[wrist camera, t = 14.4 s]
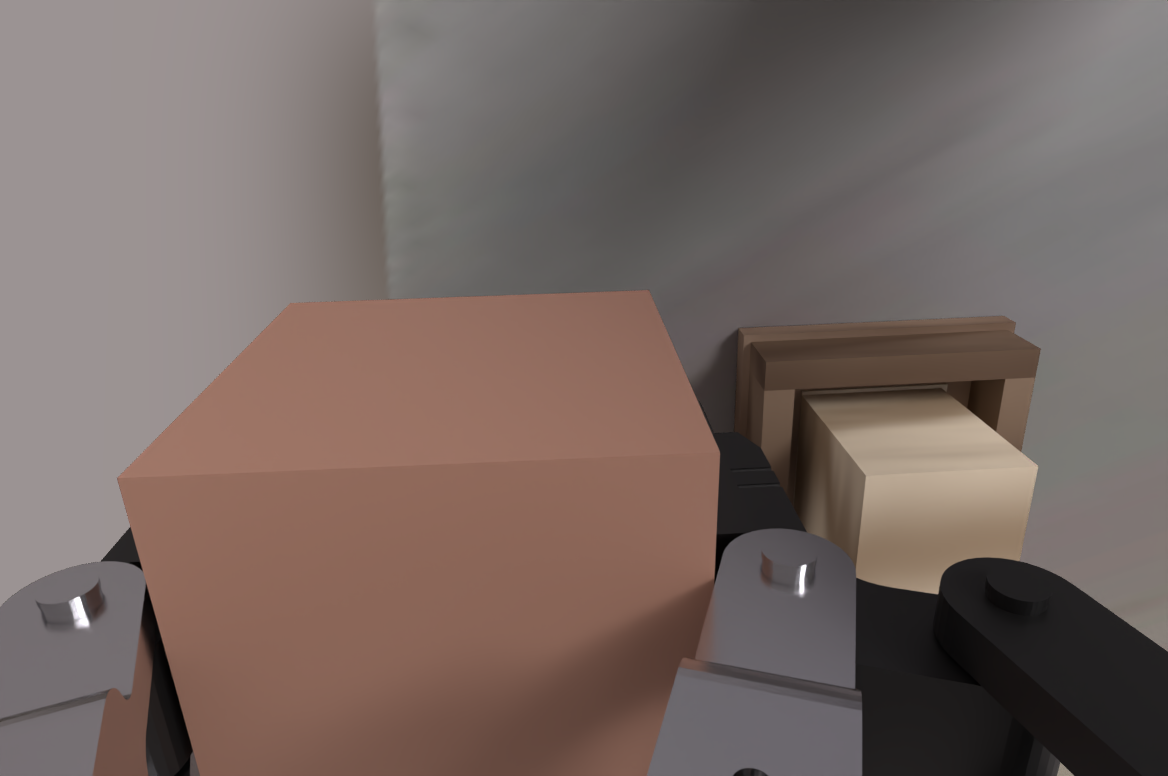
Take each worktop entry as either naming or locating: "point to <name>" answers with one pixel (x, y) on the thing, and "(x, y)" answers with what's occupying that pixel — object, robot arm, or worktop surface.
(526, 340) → the top block
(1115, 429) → the worktop surface
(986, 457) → the base block
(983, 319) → the socket board
